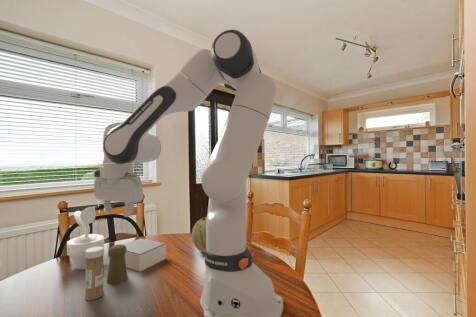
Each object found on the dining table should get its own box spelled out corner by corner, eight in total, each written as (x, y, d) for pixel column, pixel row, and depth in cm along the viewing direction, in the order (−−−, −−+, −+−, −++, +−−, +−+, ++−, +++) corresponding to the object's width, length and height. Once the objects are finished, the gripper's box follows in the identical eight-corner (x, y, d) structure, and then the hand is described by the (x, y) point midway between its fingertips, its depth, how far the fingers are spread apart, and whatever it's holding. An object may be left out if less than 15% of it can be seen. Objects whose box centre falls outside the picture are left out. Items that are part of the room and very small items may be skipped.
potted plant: (110, 264, 84) (110, 197, 84) (73, 277, 75) (73, 201, 75) (95, 256, 91) (95, 194, 92) (60, 266, 82) (61, 198, 82)
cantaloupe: (233, 249, 98) (232, 215, 98) (210, 261, 86) (209, 222, 86) (208, 242, 106) (208, 210, 107) (184, 252, 94) (184, 217, 95)
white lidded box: (165, 258, 89) (165, 243, 89) (139, 271, 78) (139, 254, 78) (141, 252, 95) (141, 238, 95) (114, 263, 85) (114, 247, 85)
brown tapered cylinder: (118, 285, 69) (119, 249, 70) (102, 283, 71) (102, 248, 71) (131, 276, 75) (131, 243, 75) (116, 274, 76) (116, 241, 77)
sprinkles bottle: (104, 297, 63) (104, 249, 64) (85, 303, 61) (85, 253, 61) (103, 289, 67) (103, 244, 67) (84, 295, 64) (84, 248, 65)
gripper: (148, 172, 72) (147, 216, 71) (108, 171, 81) (108, 209, 81) (130, 173, 66) (130, 220, 66) (90, 172, 75) (89, 213, 75)
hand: (117, 214), depth 73 cm, fingers open, 8 cm apart
